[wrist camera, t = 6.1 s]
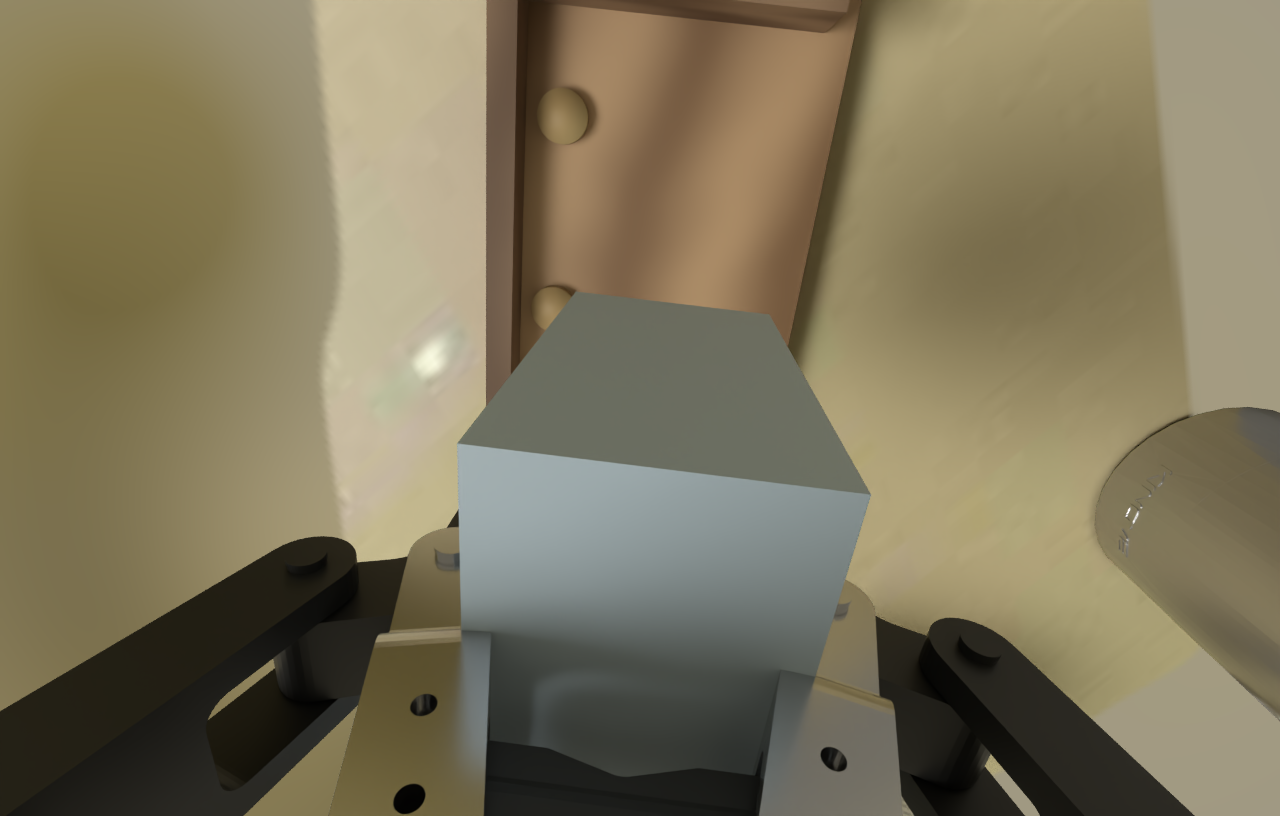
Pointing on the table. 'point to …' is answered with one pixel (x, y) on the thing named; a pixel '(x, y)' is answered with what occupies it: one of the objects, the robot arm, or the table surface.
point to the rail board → (654, 155)
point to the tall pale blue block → (652, 534)
